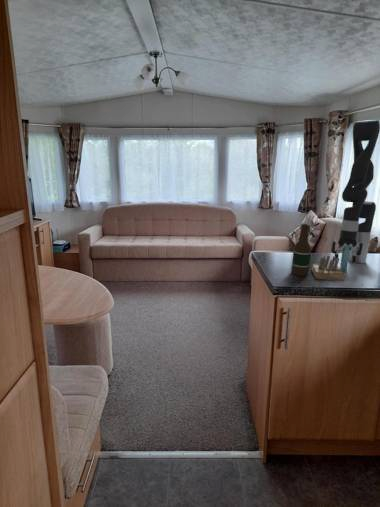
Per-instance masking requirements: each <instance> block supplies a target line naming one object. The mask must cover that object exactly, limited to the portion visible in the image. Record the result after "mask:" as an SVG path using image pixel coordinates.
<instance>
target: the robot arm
mask: <svg viewBox="0 0 380 507" xmlns="http://www.w3.org/2000/svg"><path fill="white" fill-rule="evenodd" d="M352 126H353V128H352V142H353V143H352V144H353V147H352V148H353V163H352V166H351V170H350V175H349V179H348V182H347V184H346V186H345V188H344V189H343V191H342V192H341V193H342V194H341V198H342V200H343V202H345V203H352V204H351V205H352V206H350V207H349V206H347V207H344V210H343V214H342V215H343V216H342V222H341V226H340V232H339V239H338V240H332V241H331V249H330V251H331V253H332V254H334V256H335V257H336V259H337V258H339V254H340V253H342V251H343V250H344V249H345V246H346V245H349V246H350V249H349V250H350V252H349V259H348V262H351V264H365V263H366V262H367V257H368V251H369V246H370V238H371V234H372V228H373V225H374V218H375V214H376V209H377V205H376V203H375V202H374V201H369V200H368V201H367V197H368V190H367V188H368V187H369V186H370V185H371V183H372V182H373V180H374V175H375V172H374V171H375V165H374V163H373V161H372V156H373V154H374V150H375V148H376V146H377V145H376V144H377V143H378V142H377V141H378V139H379V136H380V135H379V134H380V121H379V120H377V119H367V120H357V121H355V122H354V124H353V125H352ZM363 142H367V144H366V147H365V148H364V147H363ZM360 219H365V220H364V221H362V222H361V223H359V222H360ZM337 245H338V247H337V248H336V246H337ZM336 259H335V260H336Z"/></svg>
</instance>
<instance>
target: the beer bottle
mask: <svg viewBox="0 0 380 507" xmlns="http://www.w3.org/2000/svg"><path fill="white" fill-rule="evenodd" d="M309 228H310V224H307V223H302V224H300V232H299V238H298V240H297V241H296V243H295V245H294V247H293V252H292V262H291V274H293V275H294V276H298V277H306V276H308V274H309V271H310V270H309V269H310V260H311V253H312V248H311V245H310V243H309Z"/></svg>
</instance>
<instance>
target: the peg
mask: <svg viewBox="0 0 380 507" xmlns="http://www.w3.org/2000/svg"><path fill="white" fill-rule="evenodd" d="M349 249H350V246H349V245H346V246H345V249H344V250H343V249H342V251H341V257H340V258H341V259H340V264H339V268H340V270H341V271H342V272H343V274H345V273H347V270H348V265H349V261H348V259H349V252H350V250H349Z"/></svg>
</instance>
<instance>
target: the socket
mask: <svg viewBox="0 0 380 507" xmlns="http://www.w3.org/2000/svg"><path fill="white" fill-rule="evenodd" d="M330 257H331V255H327V256H326V255H322V256H321V257H320V260H319V264H317V263H316V264H315V263H312V265H311V266H312V268H311V271H312V274H313V276H314V278H315V279H319V280H329V281H338V282H344V279H345V273H343V272H342V271H341V270H340V266H338V265H339V262H340V257H338V258H337V259H336V257H335V255H334V256H333V257H332V259H330ZM335 259H336V260H335Z"/></svg>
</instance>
